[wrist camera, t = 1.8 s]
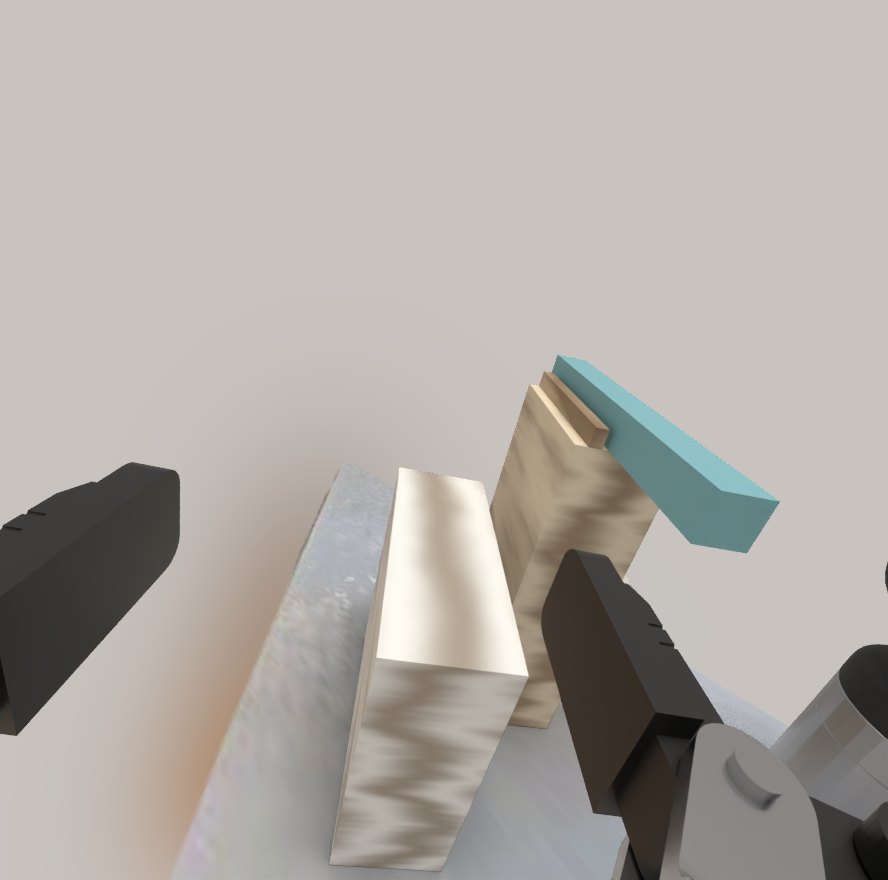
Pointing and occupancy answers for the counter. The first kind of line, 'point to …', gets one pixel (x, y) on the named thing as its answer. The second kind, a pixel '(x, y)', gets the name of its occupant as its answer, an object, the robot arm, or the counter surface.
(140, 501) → the robot arm
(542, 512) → the stepped wooden blocks
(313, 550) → the counter surface
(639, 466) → the rod
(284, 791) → the counter surface
